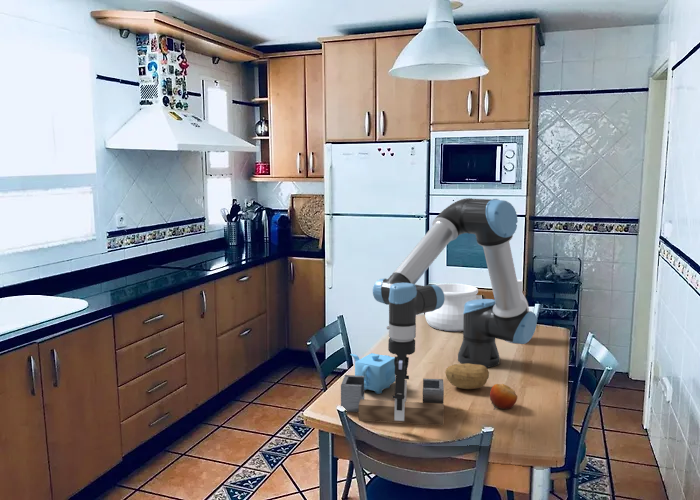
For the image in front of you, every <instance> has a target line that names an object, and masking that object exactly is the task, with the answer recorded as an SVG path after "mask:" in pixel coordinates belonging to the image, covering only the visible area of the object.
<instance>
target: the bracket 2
mask: <svg viewBox="0 0 700 500" xmlns="http://www.w3.org/2000/svg"><path fill="white" fill-rule="evenodd" d="M444 388H445V387H444V379H443V378H422V403H439V404H444V403H445V402H444V397H445V395H444V394H445V389H444Z"/></svg>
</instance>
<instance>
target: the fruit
mask: <svg viewBox="0 0 700 500" xmlns="http://www.w3.org/2000/svg"><path fill="white" fill-rule="evenodd" d="M489 399H490V402H491V404H492V405H493V410H495V409H502V410H510V409H512V408H513V407H514V406H515V404H516V403H517V401H518V395H517V394H516V392H515V390H514V389H513V388H511V387H510V386H509V385H507V384H505V383H495V384H494V385H492V387H491V389H490V392H489Z"/></svg>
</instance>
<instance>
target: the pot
mask: <svg viewBox="0 0 700 500" xmlns="http://www.w3.org/2000/svg"><path fill="white" fill-rule="evenodd" d="M434 285H437V286H439V287H440V288H441V289H442V291H443V293H444V298H445V299H444V303H443V305H442V307H441V308H439V309H436V310H434V311H432V312H431V311H430V312H426V313H424V314H425V315H424V316H425V321H426V322H427V324H428V325H429V327H432V328H433V329H436V330H438V329H439V331H443V330H444V332H463V324H464V314H463V313H464V305H465V303H466V302H468V301H471V300H478V299H483V296H482V295H481V294H479V289H478V288H477V286H474V285H470V284H465V283H452V282H451V283H450V282H449V283H448V282H447V283H444V282H443V283H437V284H434Z"/></svg>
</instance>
